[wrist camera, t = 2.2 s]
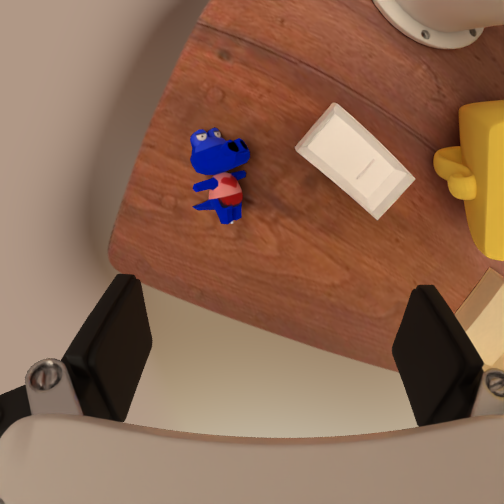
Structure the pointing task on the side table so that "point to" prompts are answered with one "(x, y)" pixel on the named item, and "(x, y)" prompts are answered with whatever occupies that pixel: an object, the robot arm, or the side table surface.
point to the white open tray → (355, 160)
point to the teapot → (479, 173)
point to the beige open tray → (486, 319)
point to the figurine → (219, 172)
